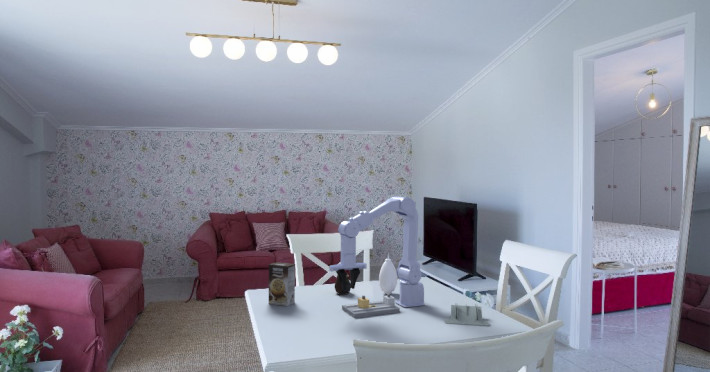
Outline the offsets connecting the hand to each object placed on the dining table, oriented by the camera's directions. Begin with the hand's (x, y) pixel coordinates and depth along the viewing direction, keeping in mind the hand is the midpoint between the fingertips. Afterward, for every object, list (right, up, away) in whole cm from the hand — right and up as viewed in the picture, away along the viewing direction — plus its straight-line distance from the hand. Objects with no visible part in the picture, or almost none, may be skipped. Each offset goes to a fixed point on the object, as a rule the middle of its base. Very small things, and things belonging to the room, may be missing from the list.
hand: (348, 288), depth 182 cm
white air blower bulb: (+17, -9, +30) cm, 35 cm away
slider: (+6, -7, +3) cm, 10 cm away
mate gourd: (-3, -9, +30) cm, 31 cm away
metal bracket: (+43, -11, -6) cm, 45 cm away
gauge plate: (+9, -9, +4) cm, 13 cm away
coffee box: (-27, -9, +14) cm, 32 cm away
